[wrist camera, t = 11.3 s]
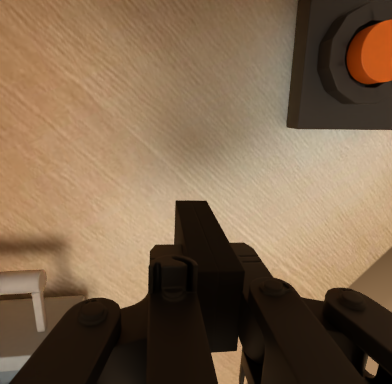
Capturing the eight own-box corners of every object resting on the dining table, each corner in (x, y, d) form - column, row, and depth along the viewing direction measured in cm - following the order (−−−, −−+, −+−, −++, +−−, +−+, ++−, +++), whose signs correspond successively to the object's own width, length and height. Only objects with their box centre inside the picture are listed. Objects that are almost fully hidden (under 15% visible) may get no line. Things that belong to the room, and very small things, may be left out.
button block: (299, -14, 24) (327, -38, 20) (401, -7, 25) (445, -27, 21) (286, 127, 27) (308, 130, 23) (377, 128, 28) (413, 131, 24)
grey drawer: (-52, 250, 25) (-126, 300, 18) (79, 244, 26) (55, 289, 20) (-16, 413, 29) (-64, 499, 23) (94, 401, 31) (78, 479, 24)
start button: (350, 24, 22) (366, 17, 20) (399, 27, 22) (420, 21, 20) (342, 83, 23) (357, 81, 21) (389, 84, 23) (408, 83, 22)
